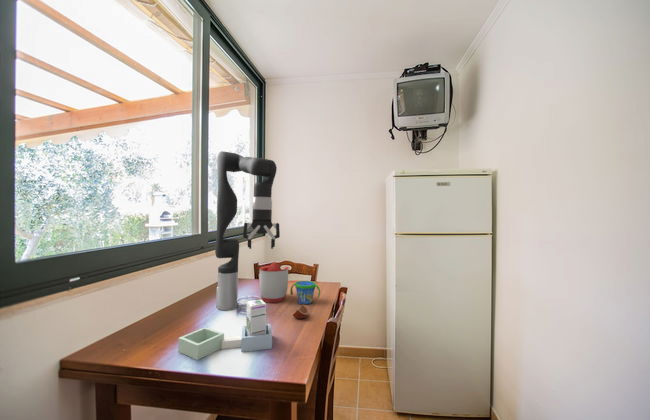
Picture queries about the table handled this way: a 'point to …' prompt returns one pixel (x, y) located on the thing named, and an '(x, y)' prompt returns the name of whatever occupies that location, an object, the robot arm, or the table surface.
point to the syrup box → (256, 318)
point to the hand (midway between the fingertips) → (261, 248)
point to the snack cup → (305, 291)
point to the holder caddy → (221, 342)
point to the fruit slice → (301, 312)
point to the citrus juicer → (273, 283)
